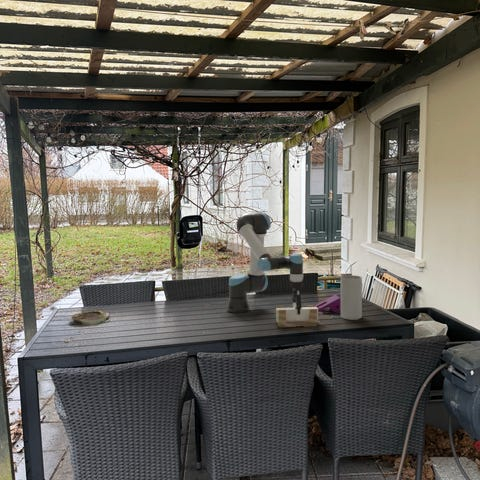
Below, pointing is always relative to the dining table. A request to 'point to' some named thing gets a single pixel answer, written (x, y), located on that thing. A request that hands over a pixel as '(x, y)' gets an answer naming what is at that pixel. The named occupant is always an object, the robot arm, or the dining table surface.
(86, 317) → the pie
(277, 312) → the bar
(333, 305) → the mounting bracket
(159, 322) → the dining table surface
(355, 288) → the cylinder vase
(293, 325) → the rack
